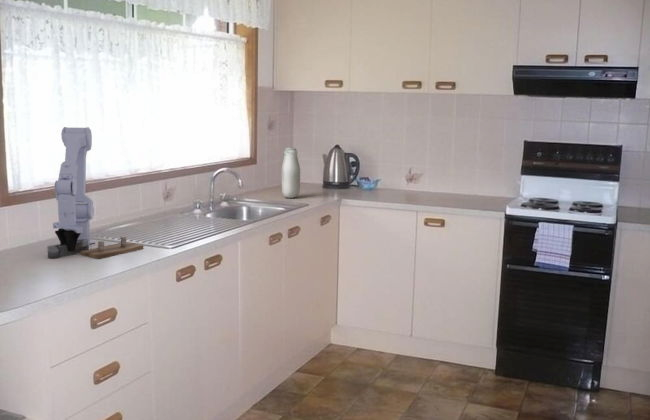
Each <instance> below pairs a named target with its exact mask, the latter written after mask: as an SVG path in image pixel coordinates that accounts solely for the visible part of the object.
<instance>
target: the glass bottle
mask: <svg viewBox="0 0 650 420" xmlns="http://www.w3.org/2000/svg"><path fill="white" fill-rule="evenodd" d="M298 158H299V157H298V150H297V148H296V147H289V146H288V147H286V148H284V151H283V160H282V165H281V172H280V173H281V175H280V176H281V193H282V195H283V196H284V198H288V199H295V198H296V197H298V196H299V194H300V191H301V168H300V163H299V159H298Z"/></svg>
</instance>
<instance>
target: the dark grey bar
mask: <svg viewBox="0 0 650 420" xmlns="http://www.w3.org/2000/svg"><path fill="white" fill-rule="evenodd" d="M89 245H90V244H89V240H88V239H80V240H77V243H76V247H75V251H71V252H70V251H69V250H68V244H67V242H66V243H57V244H52V245H51V244H50V245H47V247H46V248H47V259H50V260H51V259H60V258H62V257H67V256H72V255H77V254H81V251H85V250H90V246H89Z"/></svg>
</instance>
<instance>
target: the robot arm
mask: <svg viewBox="0 0 650 420" xmlns="http://www.w3.org/2000/svg"><path fill="white" fill-rule="evenodd" d="M60 134H61V141H62V143H63V146H64V147H65V154H64V155H65V159H64V161H62V162H61V164H60V170H59V172H58V178H57V180H55V182H54V193H55V194H54V195H55V200H56V201H57V212H58V214H57V216H58V221H56V222H52V229H57V230H55V231H54V234H55V235H56V236H57V239H58V240H59V244H61V243H66V242H67V244H68V250H69V251H70V252H71V251H75V247H76V243H77V240H80V239H88V240H89V245H92V244H95V243H96V241H95V240H94V241H93V240H91V227H90V224H91V223H90V222H91V221H90V220H92V219H94V216H95V215H94V212H95V211H94V210H95V209H94V200H93V199H92V198H91V197H89V196H88V195H87V194H86V186H87V185H86V178H87V176H86V173H87V165H86V164H87V154H88V152H89V151H91V150H92V145H93V144H92V141H93V138H92V137H93V136H92V130H91V128H90V127H88V126H87V127H67V126H64V127H63V128H62V129H61V133H60Z"/></svg>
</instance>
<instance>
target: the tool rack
mask: <svg viewBox="0 0 650 420" xmlns="http://www.w3.org/2000/svg"><path fill="white" fill-rule="evenodd" d="M143 249H144V245H143V244H142V245H141V244H139V243H138V244H137V243H132V242H128V241H127V237H126V236H120V242H117V243H114V244H109V245H105V241H104V240H102V241H101V240H99V241H98V242H97V247H95V248H91V249H90V248H89V250H85V251H81V253H80V255H81V256H86V257H88V258H93V259H98V260H99V259H100V260H101V259H104V258H109V257H113V256H117V255H122V254H125V253H131V252H135V251H139V250H143Z"/></svg>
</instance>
